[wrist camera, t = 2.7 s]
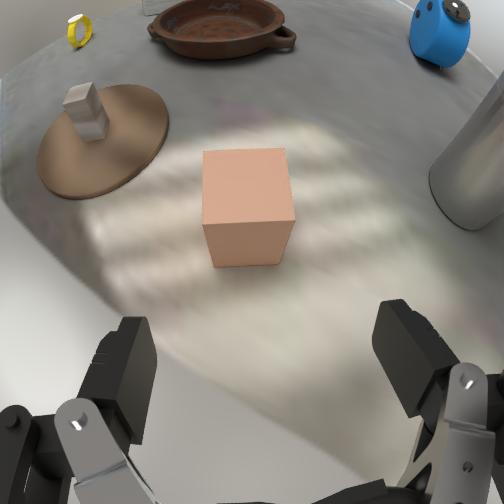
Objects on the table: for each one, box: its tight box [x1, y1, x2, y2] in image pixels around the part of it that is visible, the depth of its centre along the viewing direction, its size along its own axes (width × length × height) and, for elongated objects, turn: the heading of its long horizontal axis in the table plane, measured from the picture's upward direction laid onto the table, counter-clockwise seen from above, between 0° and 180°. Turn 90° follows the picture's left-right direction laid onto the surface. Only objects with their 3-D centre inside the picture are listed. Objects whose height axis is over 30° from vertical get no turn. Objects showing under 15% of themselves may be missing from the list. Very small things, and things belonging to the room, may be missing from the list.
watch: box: [68, 14, 92, 47], centre depth 35 cm, size 6×3×6 cm, turn 174°
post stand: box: [37, 82, 169, 200], centre depth 26 cm, size 16×16×7 cm
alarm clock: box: [410, 0, 470, 71], centre depth 32 cm, size 13×6×15 cm, turn 170°
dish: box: [147, 0, 296, 59], centre depth 34 cm, size 17×22×5 cm
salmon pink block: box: [202, 148, 295, 267], centre depth 22 cm, size 5×5×8 cm
